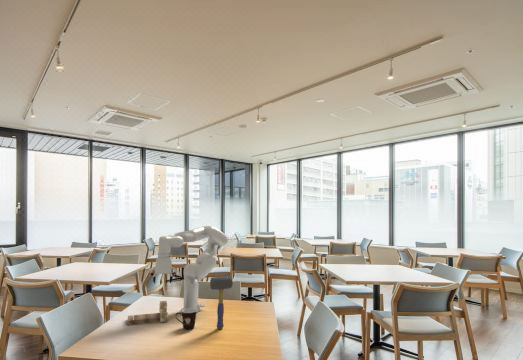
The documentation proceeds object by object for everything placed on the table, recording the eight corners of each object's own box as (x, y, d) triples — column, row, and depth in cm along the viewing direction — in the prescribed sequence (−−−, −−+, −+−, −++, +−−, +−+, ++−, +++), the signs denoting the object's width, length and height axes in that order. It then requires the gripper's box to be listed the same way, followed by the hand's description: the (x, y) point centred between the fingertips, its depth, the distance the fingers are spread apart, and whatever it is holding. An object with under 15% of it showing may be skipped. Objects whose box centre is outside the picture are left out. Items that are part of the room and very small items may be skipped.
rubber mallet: (228, 325, 197) (229, 274, 200) (232, 329, 190) (233, 277, 193) (208, 327, 193) (209, 275, 195) (211, 332, 186) (212, 278, 188)
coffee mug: (199, 327, 193) (199, 309, 194) (190, 331, 186) (190, 313, 186) (183, 324, 198) (184, 307, 199) (173, 328, 190) (174, 310, 191)
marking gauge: (164, 315, 213) (165, 299, 214) (167, 322, 200) (168, 305, 201) (158, 315, 211) (159, 300, 212) (160, 322, 199) (161, 305, 199)
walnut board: (165, 316, 212) (166, 311, 213) (167, 320, 203) (167, 316, 203) (127, 319, 204) (127, 315, 204) (127, 325, 195) (128, 320, 195)
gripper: (177, 254, 217) (176, 281, 216) (150, 255, 212) (148, 282, 211) (178, 256, 210) (176, 283, 209) (149, 256, 205) (148, 284, 204)
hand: (162, 282), depth 210 cm, fingers open, 9 cm apart
